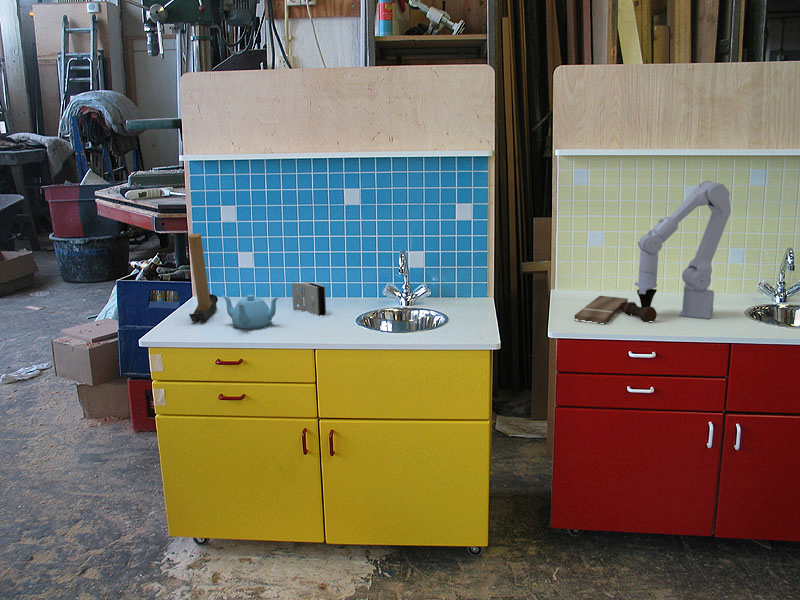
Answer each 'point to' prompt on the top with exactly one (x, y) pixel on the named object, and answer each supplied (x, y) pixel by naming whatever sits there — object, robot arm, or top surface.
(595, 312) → the plank
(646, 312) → the bolt
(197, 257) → the hammer
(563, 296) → the top surface
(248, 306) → the teapot
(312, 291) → the hinge
